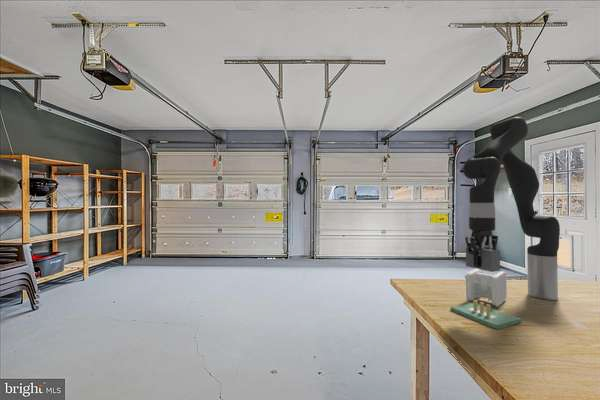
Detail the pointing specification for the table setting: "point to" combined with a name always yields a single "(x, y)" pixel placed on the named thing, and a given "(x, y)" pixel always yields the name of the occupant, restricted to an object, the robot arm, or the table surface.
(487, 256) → the block
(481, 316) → the board
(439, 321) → the table surface
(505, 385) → the table surface
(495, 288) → the white socket shroud
